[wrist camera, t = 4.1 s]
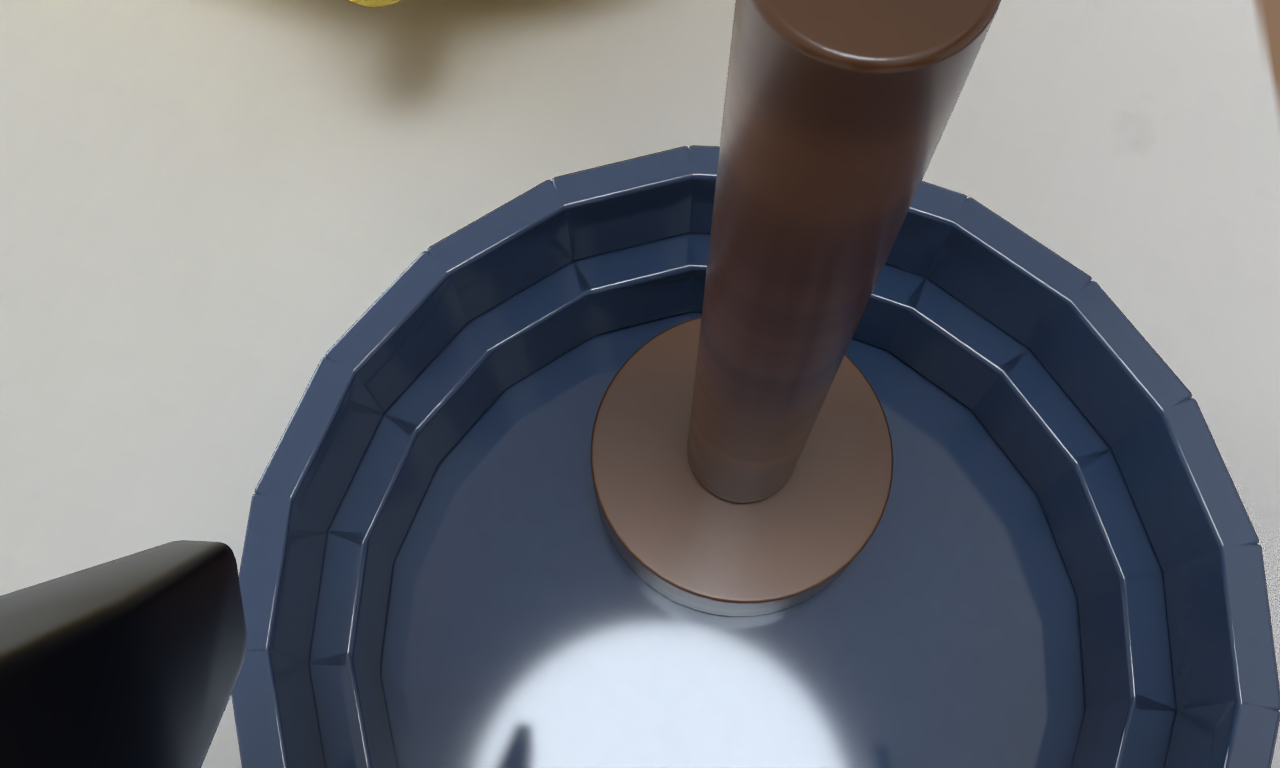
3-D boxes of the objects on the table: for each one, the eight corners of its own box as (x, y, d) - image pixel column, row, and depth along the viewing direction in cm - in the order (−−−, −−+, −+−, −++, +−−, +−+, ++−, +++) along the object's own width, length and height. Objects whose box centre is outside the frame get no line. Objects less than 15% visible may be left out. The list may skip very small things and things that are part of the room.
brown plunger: (879, 624, 20) (1301, 310, 7) (584, 609, 20) (469, 273, 7) (875, 349, 21) (1208, -311, 9) (603, 336, 21) (537, -332, 9)
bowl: (1183, 1138, 18) (1352, 1246, 13) (258, 1080, 18) (136, 1167, 14) (1107, 284, 22) (1215, 165, 18) (375, 252, 23) (312, 127, 18)
